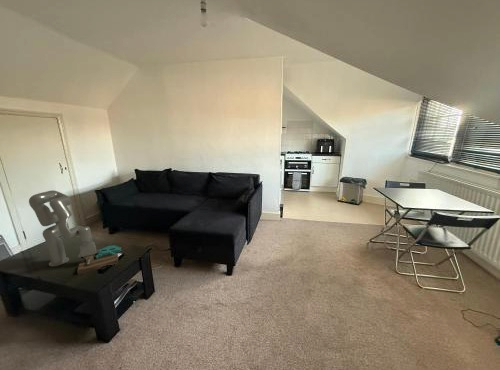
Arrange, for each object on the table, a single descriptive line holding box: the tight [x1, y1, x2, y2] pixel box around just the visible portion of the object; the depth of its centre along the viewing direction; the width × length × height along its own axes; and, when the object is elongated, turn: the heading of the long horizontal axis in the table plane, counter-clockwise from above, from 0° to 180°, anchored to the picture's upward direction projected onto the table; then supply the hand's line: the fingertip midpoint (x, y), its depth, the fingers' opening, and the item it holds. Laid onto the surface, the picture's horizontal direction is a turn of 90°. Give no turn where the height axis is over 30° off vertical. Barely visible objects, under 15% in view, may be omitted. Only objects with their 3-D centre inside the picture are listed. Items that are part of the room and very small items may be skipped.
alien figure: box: [96, 244, 122, 259], centre depth 190 cm, size 20×2×20 cm
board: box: [76, 254, 119, 275], centre depth 170 cm, size 12×26×3 cm, turn 122°
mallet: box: [85, 255, 94, 266], centre depth 170 cm, size 14×5×7 cm, turn 31°
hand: (90, 261), depth 174 cm, fingers closed on mallet, 5 cm apart
